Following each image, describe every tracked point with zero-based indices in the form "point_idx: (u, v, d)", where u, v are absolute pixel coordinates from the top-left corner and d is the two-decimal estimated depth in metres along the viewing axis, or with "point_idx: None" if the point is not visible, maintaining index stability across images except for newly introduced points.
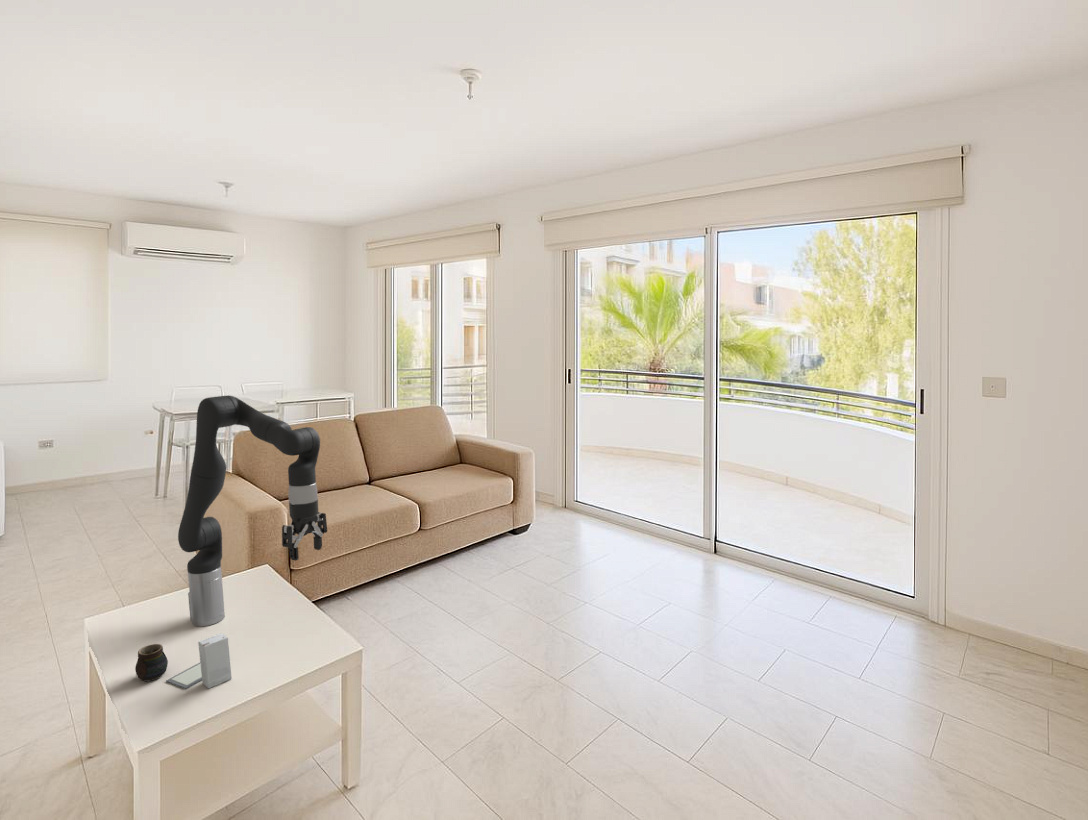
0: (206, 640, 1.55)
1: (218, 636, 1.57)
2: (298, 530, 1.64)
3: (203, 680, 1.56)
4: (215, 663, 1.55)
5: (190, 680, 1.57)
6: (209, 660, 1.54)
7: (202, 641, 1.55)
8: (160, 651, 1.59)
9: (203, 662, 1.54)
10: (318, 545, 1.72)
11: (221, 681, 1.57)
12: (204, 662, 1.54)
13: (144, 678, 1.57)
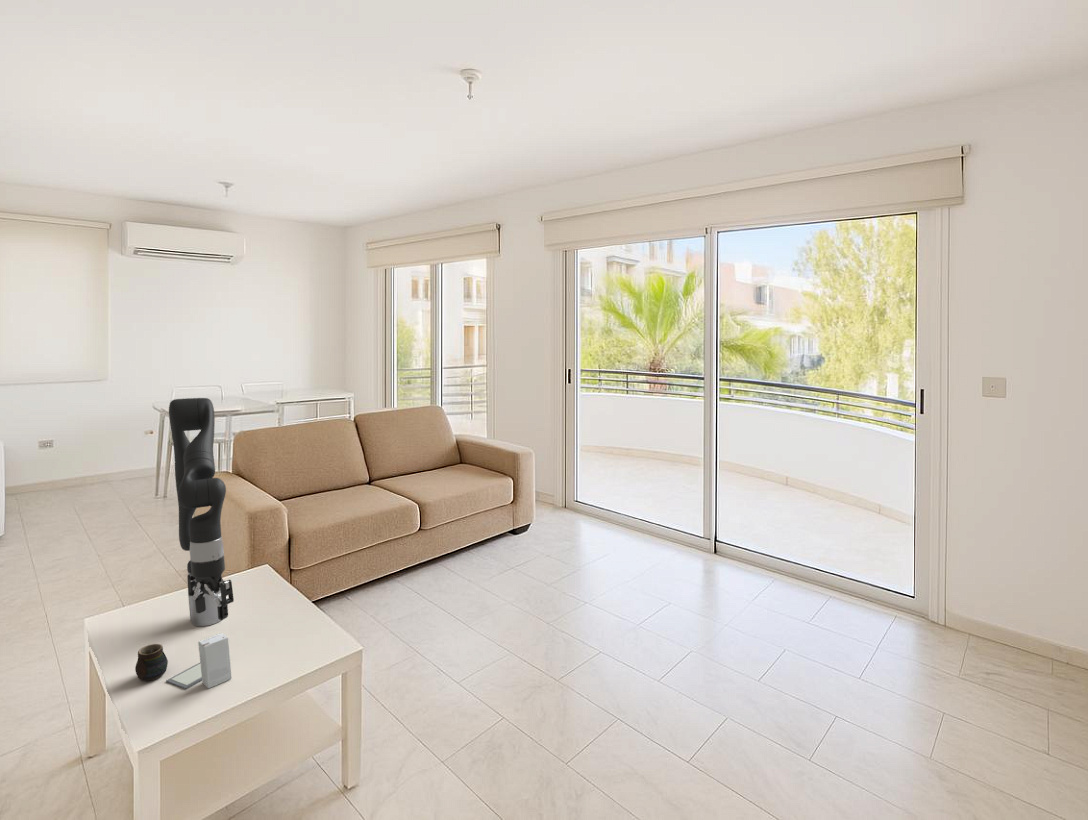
0: (206, 640, 1.55)
1: (218, 636, 1.57)
2: None
3: (203, 680, 1.56)
4: (215, 663, 1.55)
5: (190, 680, 1.57)
6: (209, 660, 1.54)
7: (202, 641, 1.55)
8: (160, 651, 1.59)
9: (203, 662, 1.54)
10: (204, 606, 1.57)
11: (221, 681, 1.57)
12: (204, 662, 1.54)
13: (144, 678, 1.57)
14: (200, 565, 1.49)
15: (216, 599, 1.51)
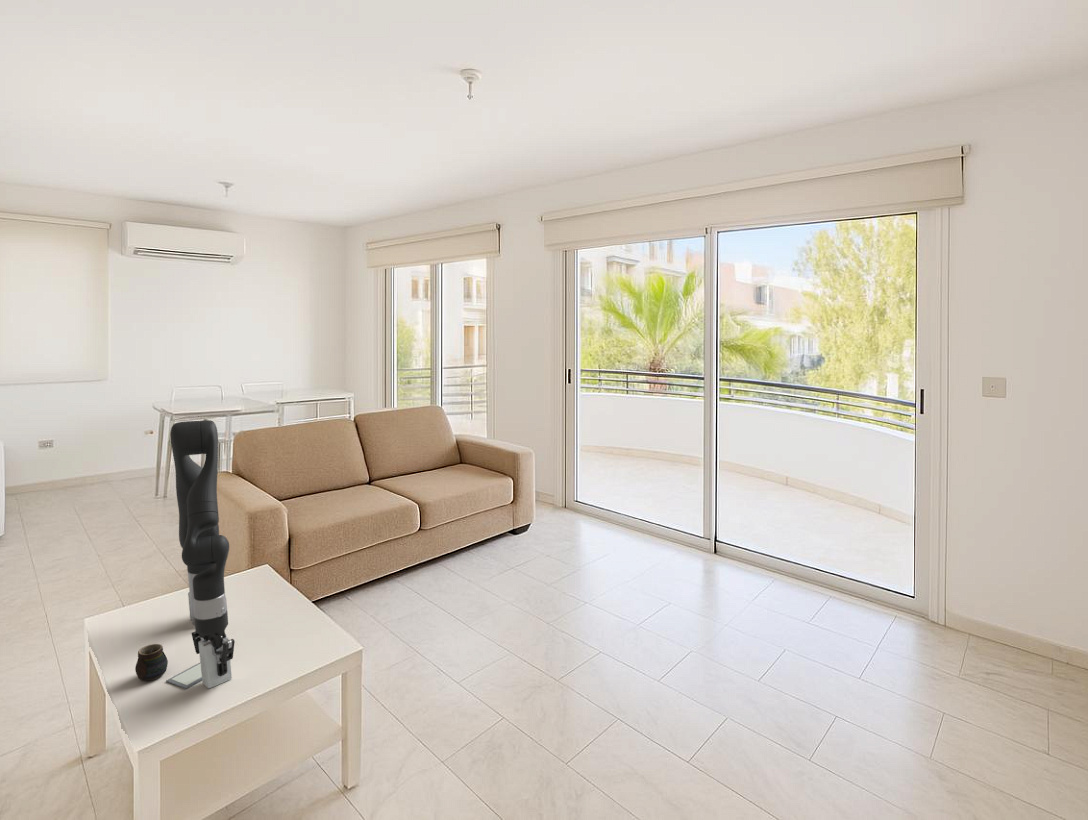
0: None
1: None
2: None
3: (203, 680, 1.56)
4: (215, 663, 1.55)
5: (190, 680, 1.57)
6: (210, 660, 1.54)
7: None
8: (160, 651, 1.59)
9: (203, 662, 1.54)
10: None
11: (221, 681, 1.56)
12: (204, 662, 1.53)
13: (144, 678, 1.57)
14: (204, 622, 1.51)
15: (217, 656, 1.54)
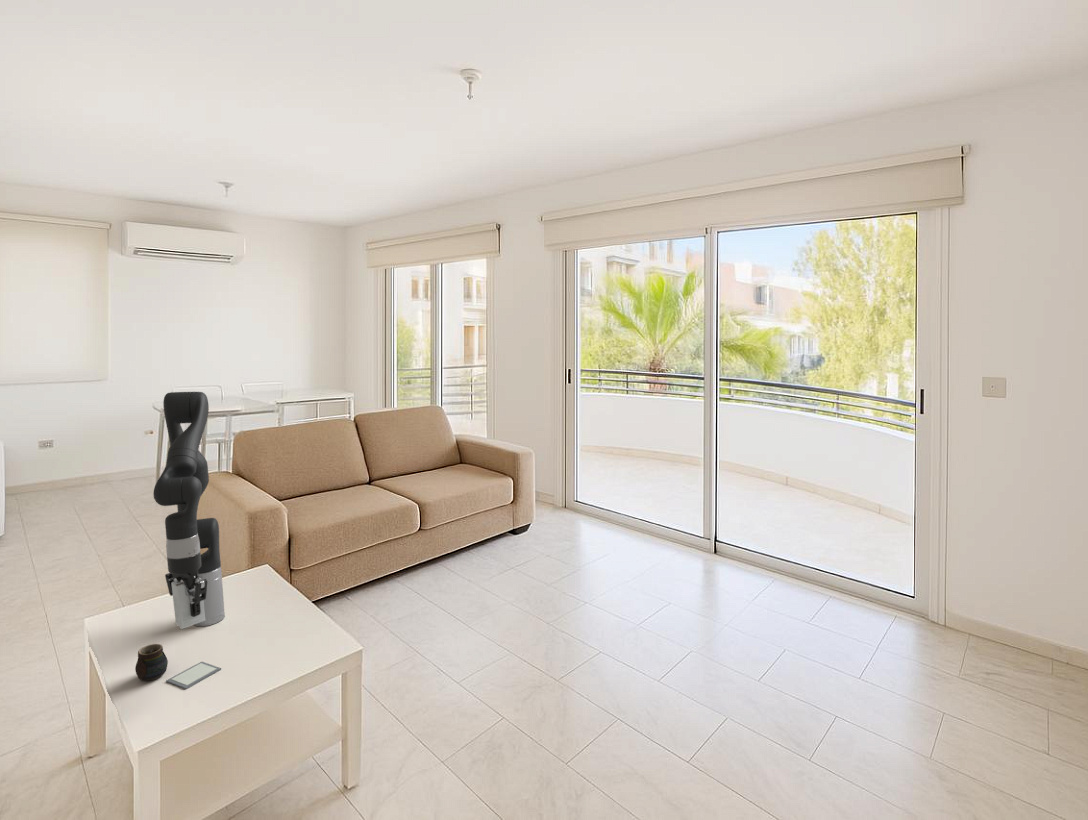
0: None
1: None
2: None
3: (176, 621, 1.57)
4: (188, 604, 1.56)
5: (190, 680, 1.57)
6: (182, 600, 1.55)
7: (175, 582, 1.56)
8: (160, 651, 1.59)
9: (176, 602, 1.55)
10: None
11: (195, 622, 1.58)
12: (177, 602, 1.55)
13: (144, 678, 1.57)
14: (176, 561, 1.52)
15: (189, 596, 1.55)
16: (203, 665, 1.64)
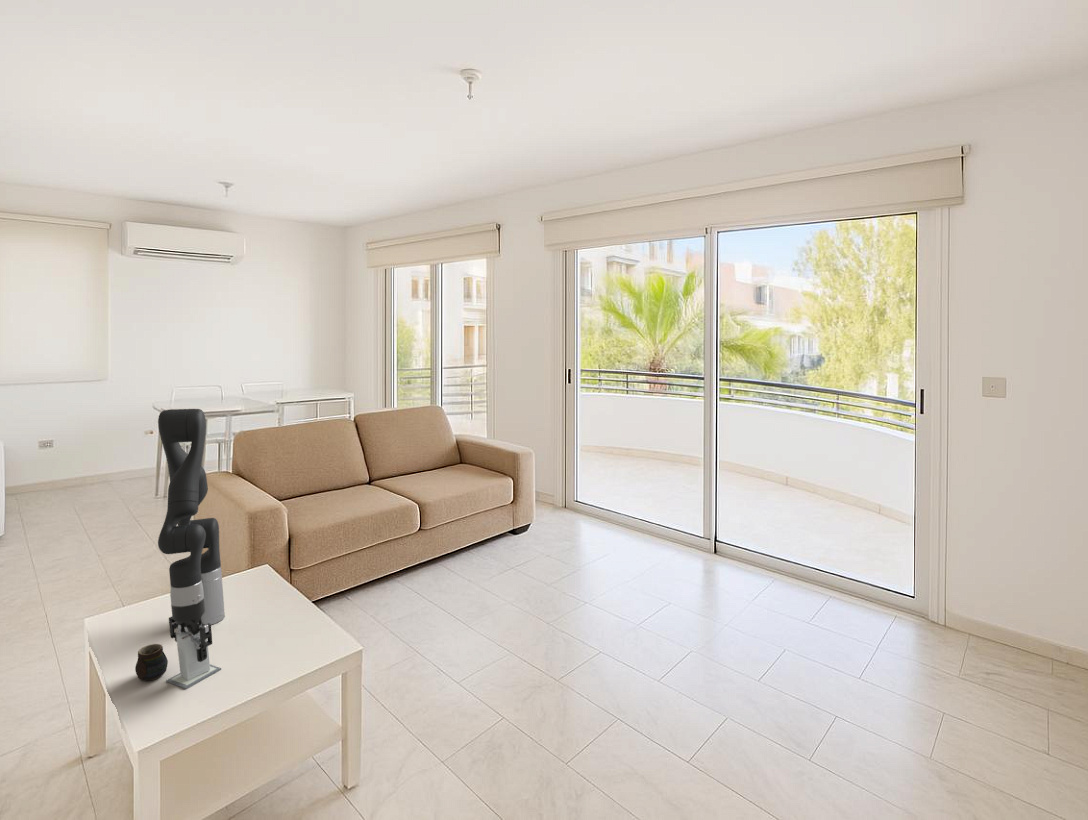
0: (184, 633, 1.57)
1: None
2: None
3: (181, 672, 1.58)
4: (194, 655, 1.58)
5: (190, 680, 1.57)
6: (188, 652, 1.56)
7: (180, 634, 1.57)
8: (160, 651, 1.59)
9: (182, 655, 1.57)
10: None
11: (200, 673, 1.59)
12: (183, 655, 1.56)
13: (144, 678, 1.57)
14: (180, 609, 1.54)
15: (195, 642, 1.56)
16: None
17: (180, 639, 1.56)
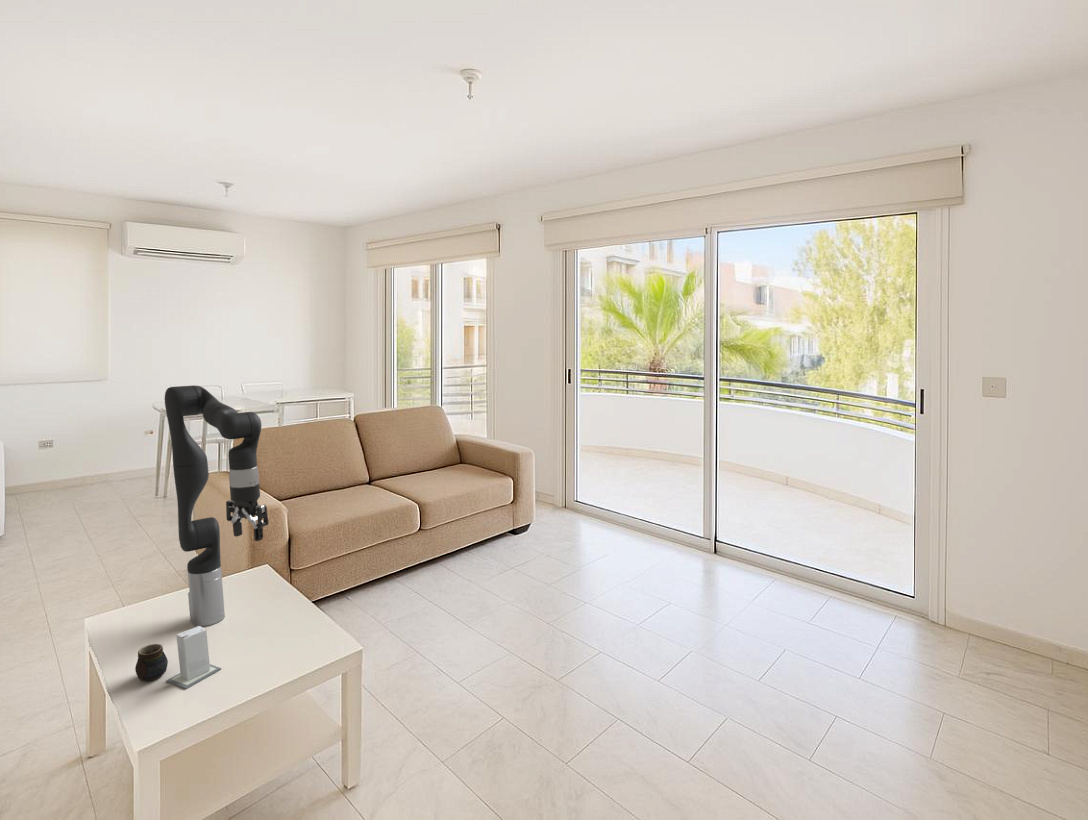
0: (184, 633, 1.58)
1: (196, 629, 1.60)
2: None
3: (181, 672, 1.58)
4: (194, 655, 1.58)
5: (190, 680, 1.57)
6: (188, 652, 1.56)
7: (180, 634, 1.57)
8: (160, 651, 1.59)
9: (182, 654, 1.57)
10: (240, 530, 1.73)
11: (200, 673, 1.59)
12: (183, 655, 1.56)
13: (144, 678, 1.57)
14: (239, 490, 1.65)
15: (253, 522, 1.67)
16: None
17: (180, 639, 1.56)
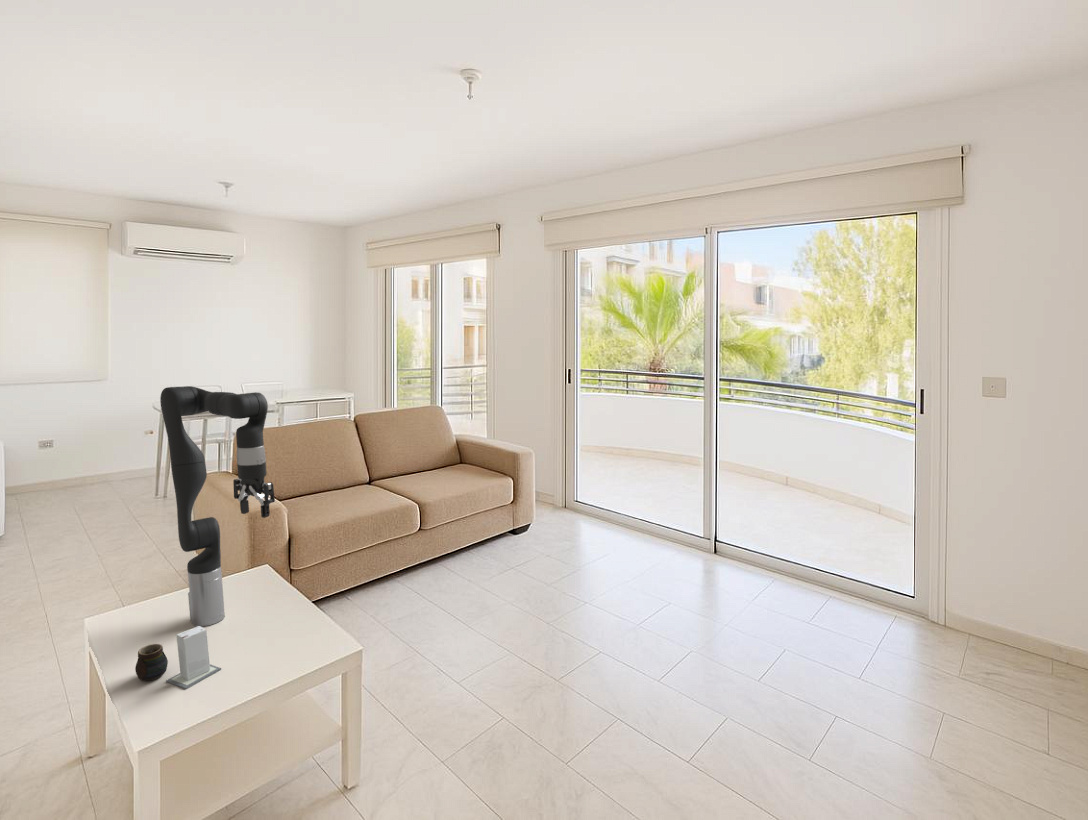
0: (184, 633, 1.58)
1: (196, 629, 1.60)
2: None
3: (181, 672, 1.58)
4: (194, 655, 1.58)
5: (190, 680, 1.57)
6: (188, 652, 1.56)
7: (180, 634, 1.57)
8: (160, 651, 1.59)
9: (182, 654, 1.57)
10: (247, 508, 1.78)
11: (200, 673, 1.59)
12: (183, 655, 1.56)
13: (144, 678, 1.57)
14: (246, 468, 1.70)
15: (259, 499, 1.72)
16: None
17: (180, 639, 1.56)
